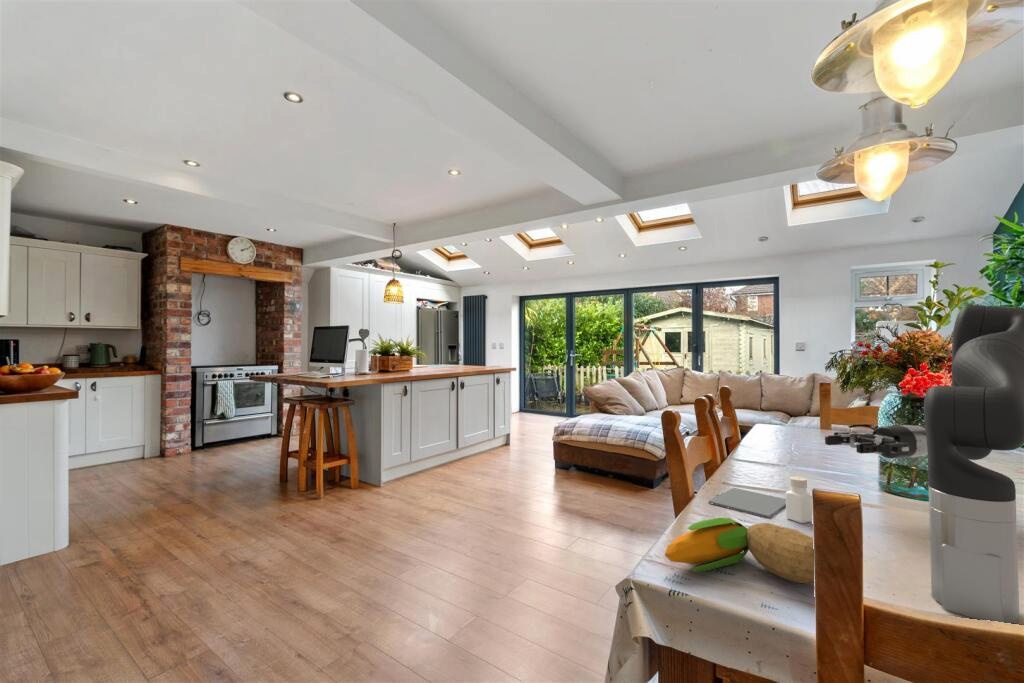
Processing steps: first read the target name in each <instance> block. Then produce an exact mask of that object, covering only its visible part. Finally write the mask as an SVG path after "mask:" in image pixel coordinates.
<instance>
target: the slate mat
mask: <svg viewBox="0 0 1024 683" xmlns="http://www.w3.org/2000/svg"><path fill="white" fill-rule="evenodd" d="M709 503H713V504H717V505H722V506H725V507H729V508H732V509H731V510H733V509H735V510H734V511H737V510H739V511H738V512H741V511H743V512H742V513H745V512H746V514H748V515H749V514H751V515H753V516H758V517H762V518H766V519H770V518H773V516H774V515H776V514H777V513H778V512H780V511H781V510H782V509H785V508H786V498H784V497H779V496H774V495H769V494H765V493H760V492H757V491H756V492H755V491H751V490H746V489H743V488H742V489H741V488H737V487H732V488H730V489H728V490H727V491H725V492H723V493H721V494H719V495H717V496H715V497H713V498H711V499H709V500H708V504H709ZM713 504H712V505H713ZM717 505H716V506H717ZM725 507H724V508H725ZM729 508H728V509H729Z"/></svg>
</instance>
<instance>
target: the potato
mask: <svg viewBox="0 0 1024 683" xmlns="http://www.w3.org/2000/svg"><path fill="white" fill-rule="evenodd" d="M813 538H814V537H812V536H809V535H808V534H805V533H803V532H801V531H800V530H797V529H794V528H790V527H785V526H781V525H780V526H779V525H777V524H774V523H765V522H760V523H755V524H751V525H750V526H749V527H748V528H747V543H748V549H749V550H748V552H750V554H751V555H752V557H753V558H754V559H755V561H756V562H757V564H758V565H760V566H761V567H762V568H764V570H767V571H768V572H770V573H772V574H774V575H776V576H778V577H781V578H783V579H786V580H787V581H790V580H791V581H790V582H794V583H797V584H802V583H803V585H809V584H810V585H811V584H815V583H814V549H813Z"/></svg>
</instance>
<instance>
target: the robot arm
mask: <svg viewBox="0 0 1024 683" xmlns="http://www.w3.org/2000/svg"><path fill="white" fill-rule="evenodd" d="M951 346H952V347H951V385H934V386H931V387H930V388H929V389H927V391H926V393H925V396H924V400H923V417H924V418H923V421H924V425H923V424H921V425H912V424H911V425H910V424H903V425H902V424H901V425H899V424H898V425H897V424H896V425H882V426H881V425H880V426H878V427H876V428H875V429H874V430H873V432H864V433H862V432H861V433H860V432H857V431H841V432H840V431H835V432H833V434H832V435H825V436H824V444H825V445H827V446H850V448H852V449H856V453H857V454H862V455H863V454H876V455H881V457H883V458H885V459H906V458H907V459H908V458H919V457H922V456H923V457H925V456H927V471H928V474H927V475H928V478H927V479H928V482H927V484H928V516H929V518H928V520H929V555H930V557H929V559H930V560H929V562H930V584H931V586H930V589H931V590H930V591H931V592H930V595H931V597H932V598H933V599H934V600H935V601H936V602H937V603H939V604H940V605H941V606H942V608H943V609H944V610H947V611H950V612H953V613H956V614H960V615H963V616H966V617H970V618H973V619H977V620H979V619H982V620H990V621H998V622H1004V623H1011V624H1015V623H1018V622H1019V621H1020V590H1019V564H1018V563H1019V562H1018V560H1019V559H1018V536H1017V535H1018V531H1017V530H1018V528H1017V527H1018V526H1017V500H1016V498H1017V497H1016V496H1017V494H1016V489H1017V488H1016V483H1015V482H1014V480H1013V479H1012V478H1011V477H1009V476H1007V475H1006V474H1004V473H1001V472H998V471H996V470H992V469H990V468H987V467H985V466H982V465H980V464H978V463H976V462H974V461H978V460H982V459H985V458H987V457H988V456H989V455H990V454H991V453H992V451H1015V450H1017V449H1019V448H1021V446H1023V445H1024V308H1019V307H1011V306H997V305H980V304H968V305H967V304H966V305H965V306H963V307H961V308H960V310H959V312H958V314H957V315H956V318H955V321H954V324H953V331H952V345H951ZM982 620H981V621H982Z"/></svg>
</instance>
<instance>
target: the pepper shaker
mask: <svg viewBox="0 0 1024 683" xmlns="http://www.w3.org/2000/svg"><path fill="white" fill-rule="evenodd" d="M789 481H790V483H789V484H790V490H788V491H785V499H786V506H785V516H786V518H787V519H789V520H790V521H794V522H796V523H799V524H807V523H810V522H812V521H813V519H812V515H813V495H812V494H811V493H809V492H808V491H807V488H808V480H807V478H804V477H802V476H790V477H789ZM811 495H812V496H811Z"/></svg>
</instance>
